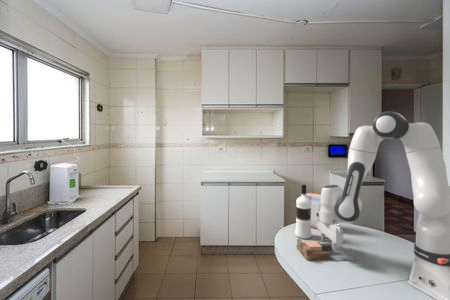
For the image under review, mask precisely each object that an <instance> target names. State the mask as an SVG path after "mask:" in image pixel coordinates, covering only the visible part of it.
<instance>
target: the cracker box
mask: <svg viewBox="0 0 450 300" xmlns="http://www.w3.org/2000/svg"><path fill="white" fill-rule="evenodd" d="M306 196H307V197H308V198H309V199H310V200H311V202H312V203H311V229H316V230H318V229H317V226H316V217H317V216H316V212H320V209H321V202H320V201H321V193H314V192H306Z"/></svg>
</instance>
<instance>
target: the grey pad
mask: <svg viewBox="0 0 450 300" xmlns="http://www.w3.org/2000/svg"><path fill="white" fill-rule="evenodd" d="M327 252H330V259H332V260H333V261H334V262H343V261H344V262H345V261H346V262H347V261H359V260H360V259H359V257H357V256H356V255H354V254H353V253H352V252H350V251H349V250H348V249H347V248H346V247H345V246H343V245H342V244H337V246H336V250H334V251H327Z"/></svg>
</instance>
